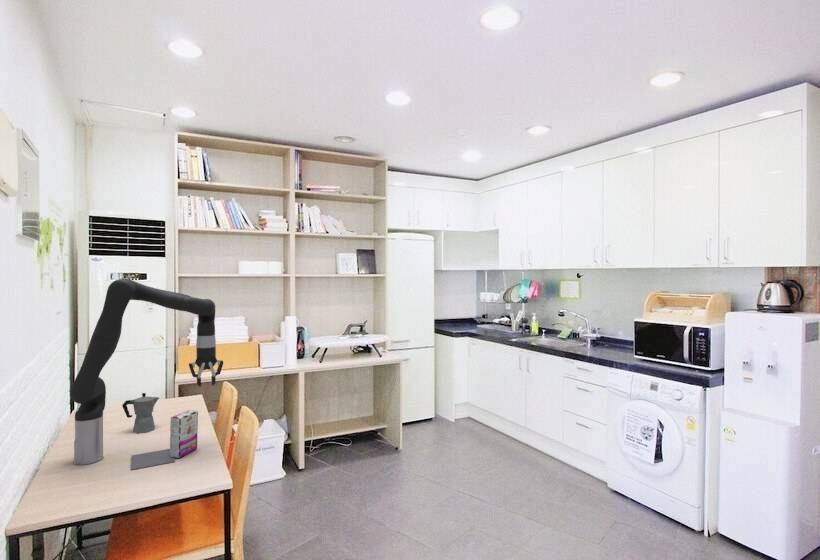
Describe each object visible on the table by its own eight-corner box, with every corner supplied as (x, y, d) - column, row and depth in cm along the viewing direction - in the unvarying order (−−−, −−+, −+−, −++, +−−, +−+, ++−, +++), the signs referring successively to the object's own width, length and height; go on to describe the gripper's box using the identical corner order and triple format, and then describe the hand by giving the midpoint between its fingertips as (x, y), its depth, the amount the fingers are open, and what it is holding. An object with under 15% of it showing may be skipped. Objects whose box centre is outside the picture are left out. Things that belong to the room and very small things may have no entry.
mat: (130, 470, 171) (130, 469, 171) (131, 456, 185) (131, 455, 185) (174, 462, 179) (174, 461, 179) (172, 449, 193) (172, 448, 193)
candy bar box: (187, 447, 193) (188, 409, 194) (197, 449, 192) (199, 410, 193) (168, 457, 182) (170, 416, 183) (179, 458, 181) (180, 417, 182)
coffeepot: (157, 425, 224) (157, 389, 224) (161, 429, 217) (161, 392, 217) (121, 431, 215) (120, 394, 215) (124, 437, 207) (123, 398, 207)
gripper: (188, 348, 185) (188, 389, 185) (225, 345, 192) (225, 385, 192) (186, 346, 191) (187, 386, 192) (222, 343, 199) (222, 382, 199)
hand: (206, 385), depth 192 cm, fingers open, 4 cm apart
